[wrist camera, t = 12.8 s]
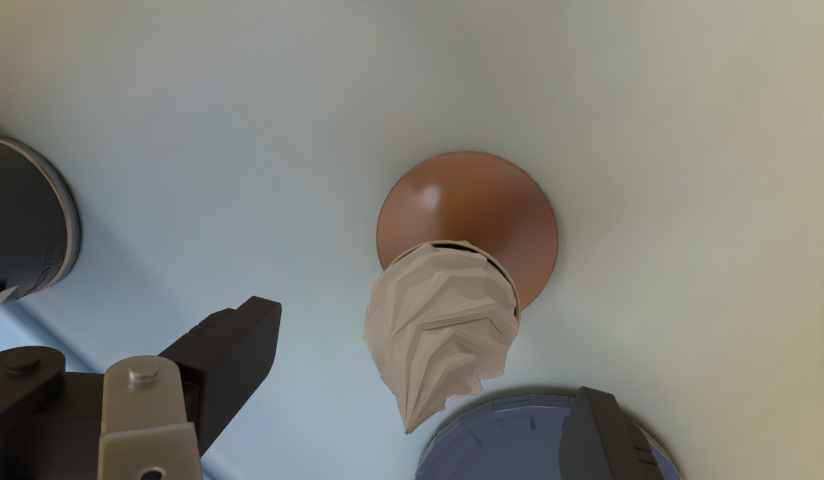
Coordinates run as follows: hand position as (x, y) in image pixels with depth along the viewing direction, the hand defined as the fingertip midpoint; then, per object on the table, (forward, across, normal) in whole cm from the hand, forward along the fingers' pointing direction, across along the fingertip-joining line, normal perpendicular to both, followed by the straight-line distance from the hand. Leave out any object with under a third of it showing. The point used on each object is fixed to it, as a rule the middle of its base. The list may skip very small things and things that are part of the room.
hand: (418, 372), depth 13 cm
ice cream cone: (+13, 0, 0) cm, 13 cm away
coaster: (+13, 0, 0) cm, 13 cm away
